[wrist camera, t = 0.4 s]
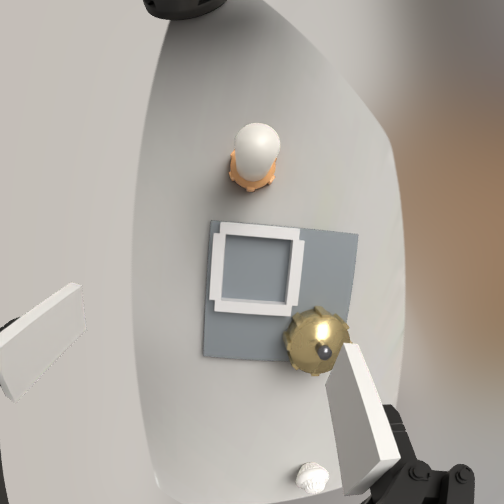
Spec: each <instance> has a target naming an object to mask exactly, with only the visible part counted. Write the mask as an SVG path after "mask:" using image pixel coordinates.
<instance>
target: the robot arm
mask: <svg viewBox="0 0 504 504" xmlns="http://www.w3.org/2000/svg"><path fill="white" fill-rule="evenodd" d="M225 1H226V0H143V2H144V5H145V7H146V9H147V11H148V12H149V13H150V14H151V15H152V16H154V17H157V18H160V19H166V20H180V19H188V18H193V17H196V16H200V15H203V14H206V13H208V12H210V11H212V10H214V9H216V8H218V7H219V6H221V5H222V4H223V3H224V2H225ZM86 330H87V327H86V319H85V311H84V303H83V290H82V285H79V284H76V283H73V282H71V283H69V284H68V285H66V286H65V287H63V288H62V289H60V290H59V291H57V292H56V293H54V294H53V295H51V296H50V297H48V298H47V299H46V300H44V301H43V302H41V303H40V304H38V305H37V306H36V307H34V308H33V309H31V310H30V311H28V312H27V313H26V314H24V315H23V316H22V317H18V318H16V319H13V320H11V321H9V322H8V323H7V324H5V325H4V327H1V328H0V386H1V388H2V390H3V392H4V394H5V396H7V397H8V398H9V399H10V400H12V401H13V402H14V403H17V402H18V401H19V400H20V399H21V397H22V396H23V395H24V394H25V393H26V392H27V391H28V390H29V389H30V388H31V387H32V385H33V384H34V383H35V382H36V381H37V380H38V379H39V378H40V377H41V376H42V374H44V373H45V372H46V370H47V369H48V368H49V367H50V366H51V365H52V364H53V363H54V362H55V361H56V360H57V359H58V358H59V357H60V356H61V355H62V354H63V353H64V352H65V351H66V350H67V349H68V348H69V347H70V346H71V345H72V344H73V343H74V342H75V341H76V340H77V339H78V338H79V337H80V336H81V335H82V334H83V333H84V332H85V331H86ZM325 386H326V391H327V396H328V401H329V407H330V412H331V418H332V423H333V429H334V435H335V441H336V447H337V453H338V459H339V466H340V472H341V479H342V486H343V493H344V496H350V495H359V494H363V493H364V492H366V491H367V490H368V489H369V488H370V490H371V496H369V497H368V498H367V499H366V500H364V501H363V502H362V503H361V504H474V488H475V482H474V481H475V477H474V473H473V471H472V470H471V468H469V467H468V466H466V465H464V464H457V465H455V466H454V467H453V468H451V469H450V471H448V472H447V471H434V470H431V468H430V467H429V465H428V464H426V463H425V462H423V461H420V460H417V458H416V456H415V453H414V450H413V447H412V445H411V442H410V440H409V437H408V434H407V432H405V430H406V429H405V427H404V425H403V424H402V423H403V422H402V420H401V417H400V415H399V413H398V411H397V410H396V409H395V408H394V407H393V406H392V405H382V403H381V400H380V398H379V395H378V392H377V390H376V387H375V385H374V382H373V380H372V377H371V375H370V372H369V370H368V367H367V365H366V362H365V360H364V358H363V355H362V353H361V350H360V348H359V346H358V344H351V343H343V345H342V347H341V350H340V352H339V355H338V357H337V359H336V362H335V364H334V366H333V369H332V371H331V373H330V375H329V378H328V380H327V382H326V384H325ZM0 504H9V502H8V498H7V493H6V488H5V482H4V477H3V470H2V461H1V451H0Z"/></svg>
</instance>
